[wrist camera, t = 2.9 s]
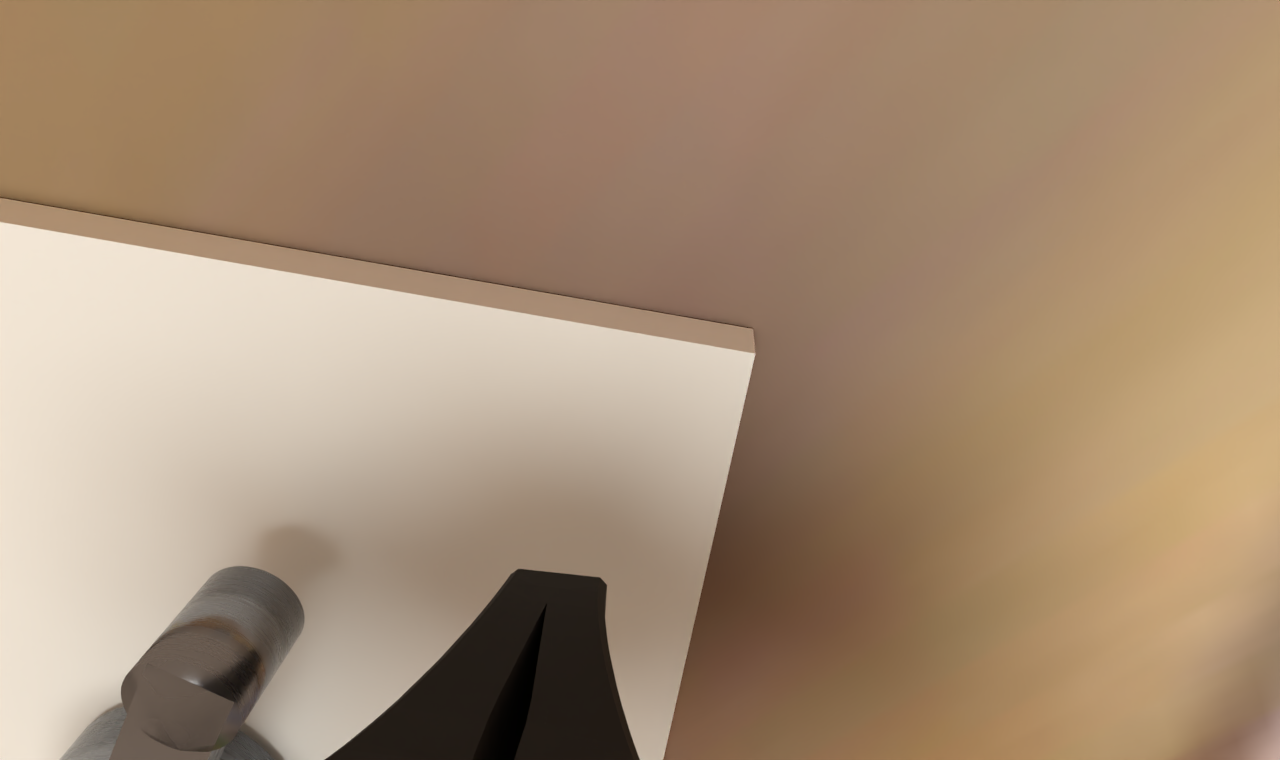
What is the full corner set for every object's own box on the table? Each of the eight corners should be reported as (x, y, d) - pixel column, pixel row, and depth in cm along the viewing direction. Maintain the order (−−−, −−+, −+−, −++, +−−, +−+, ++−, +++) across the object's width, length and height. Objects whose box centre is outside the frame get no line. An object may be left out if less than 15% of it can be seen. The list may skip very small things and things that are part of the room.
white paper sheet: (599, 1020, 21) (588, 1107, 20) (-54, 900, 21) (-119, 977, 20) (752, 328, 14) (757, 376, 12) (-255, 153, 14) (-385, 176, 12)
